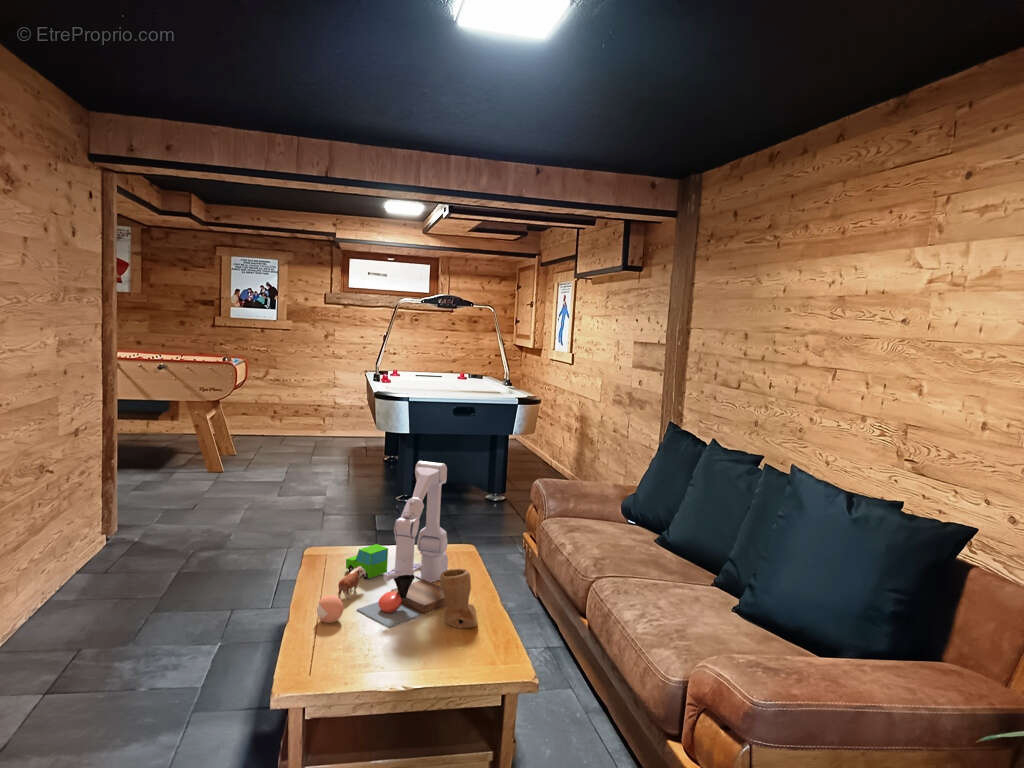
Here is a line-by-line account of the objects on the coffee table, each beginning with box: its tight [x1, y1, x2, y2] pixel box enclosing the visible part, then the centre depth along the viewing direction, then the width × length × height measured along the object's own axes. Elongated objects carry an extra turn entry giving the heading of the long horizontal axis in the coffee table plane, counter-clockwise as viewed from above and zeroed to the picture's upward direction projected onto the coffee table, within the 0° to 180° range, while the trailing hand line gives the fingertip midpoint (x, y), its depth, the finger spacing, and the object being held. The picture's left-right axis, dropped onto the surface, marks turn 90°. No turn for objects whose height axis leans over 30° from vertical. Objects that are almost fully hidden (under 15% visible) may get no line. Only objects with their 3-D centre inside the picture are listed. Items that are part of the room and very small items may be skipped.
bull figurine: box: [337, 566, 366, 600], centre depth 213 cm, size 4×13×8 cm, turn 161°
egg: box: [316, 594, 344, 624], centre depth 193 cm, size 8×8×8 cm
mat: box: [356, 601, 423, 629], centre depth 202 cm, size 13×16×1 cm
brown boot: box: [440, 568, 478, 629], centre depth 200 cm, size 15×12×15 cm
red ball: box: [377, 590, 402, 613], centre depth 203 cm, size 7×7×2 cm
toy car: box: [345, 543, 389, 580], centre depth 232 cm, size 10×13×10 cm
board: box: [390, 579, 447, 616], centre depth 213 cm, size 14×16×3 cm
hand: (402, 597), depth 206 cm, fingers closed
